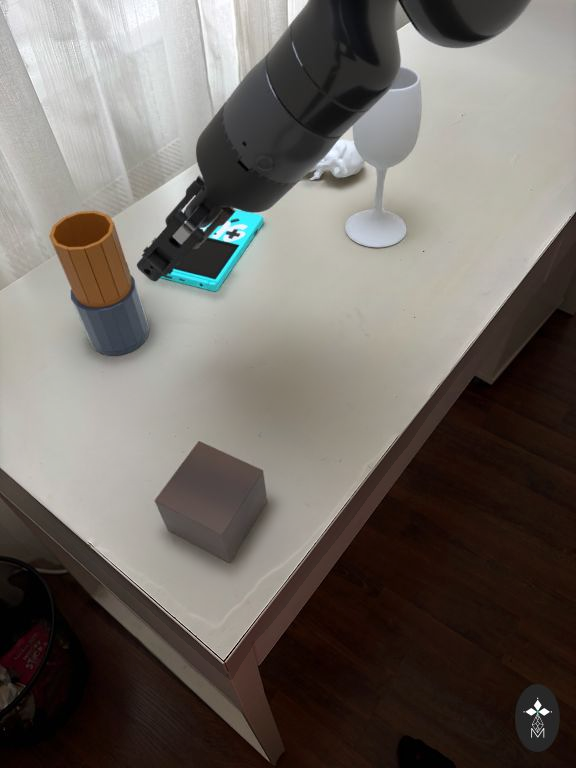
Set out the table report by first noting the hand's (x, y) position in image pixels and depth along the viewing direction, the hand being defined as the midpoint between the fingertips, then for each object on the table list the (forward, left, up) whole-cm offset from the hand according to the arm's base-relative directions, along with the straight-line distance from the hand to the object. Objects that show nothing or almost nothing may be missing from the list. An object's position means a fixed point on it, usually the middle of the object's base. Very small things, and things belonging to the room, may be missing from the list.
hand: (170, 244), depth 54 cm
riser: (-15, -12, -18) cm, 26 cm away
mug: (+2, +13, -18) cm, 22 cm away
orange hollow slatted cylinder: (0, +12, -11) cm, 16 cm away
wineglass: (+33, -8, -18) cm, 39 cm away
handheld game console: (+19, +11, -18) cm, 29 cm away
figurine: (+43, +5, -18) cm, 47 cm away
